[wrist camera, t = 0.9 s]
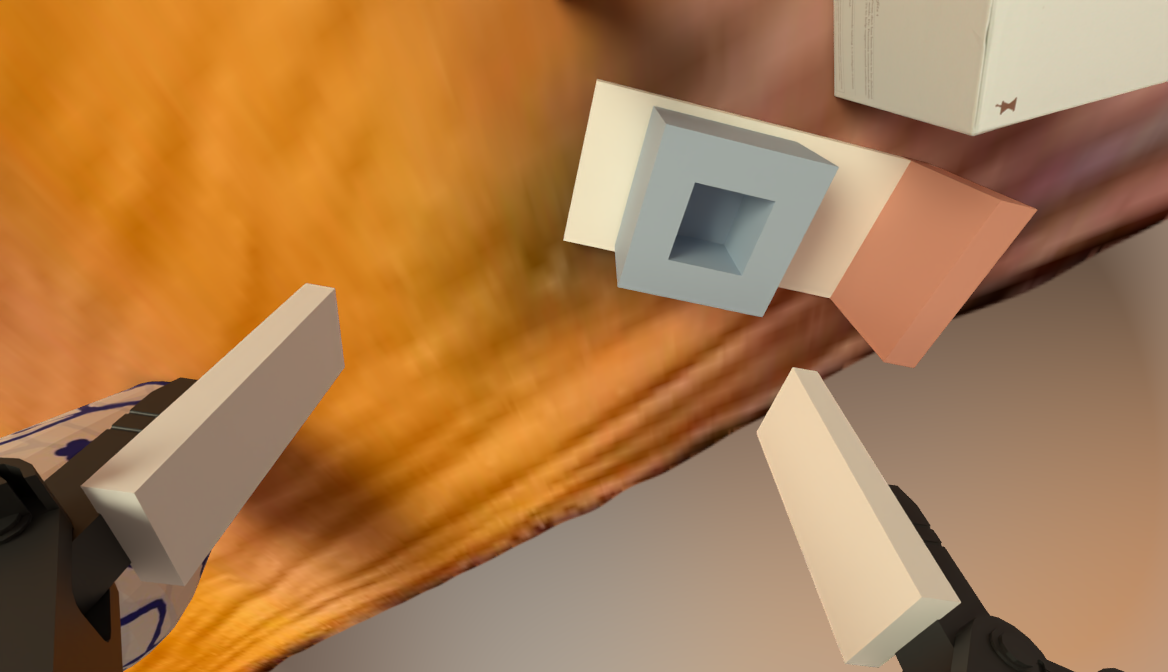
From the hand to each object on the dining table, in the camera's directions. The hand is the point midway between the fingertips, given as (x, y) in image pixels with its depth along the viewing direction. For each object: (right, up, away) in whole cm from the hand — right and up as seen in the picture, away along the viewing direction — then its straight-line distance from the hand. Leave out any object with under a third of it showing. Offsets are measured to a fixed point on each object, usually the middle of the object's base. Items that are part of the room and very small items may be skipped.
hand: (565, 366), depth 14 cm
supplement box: (+18, +19, +12) cm, 29 cm away
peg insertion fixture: (+11, +10, +18) cm, 23 cm away
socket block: (+8, +10, +17) cm, 21 cm away
